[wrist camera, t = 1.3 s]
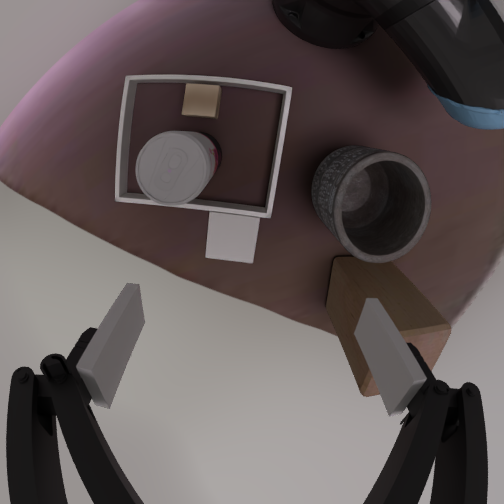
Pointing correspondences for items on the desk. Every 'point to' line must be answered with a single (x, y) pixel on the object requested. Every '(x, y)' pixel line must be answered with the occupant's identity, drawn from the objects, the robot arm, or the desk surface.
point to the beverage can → (177, 166)
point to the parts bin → (199, 204)
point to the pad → (231, 236)
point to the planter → (372, 201)
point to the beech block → (202, 100)
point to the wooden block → (396, 305)
